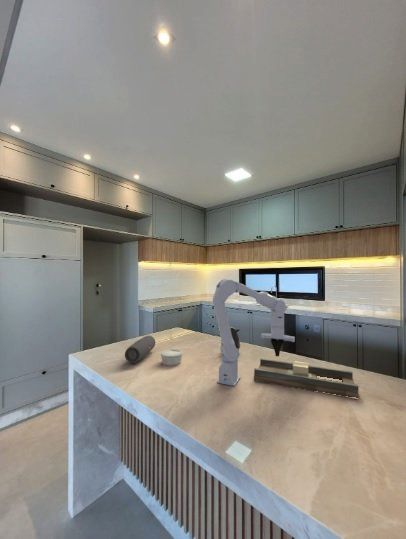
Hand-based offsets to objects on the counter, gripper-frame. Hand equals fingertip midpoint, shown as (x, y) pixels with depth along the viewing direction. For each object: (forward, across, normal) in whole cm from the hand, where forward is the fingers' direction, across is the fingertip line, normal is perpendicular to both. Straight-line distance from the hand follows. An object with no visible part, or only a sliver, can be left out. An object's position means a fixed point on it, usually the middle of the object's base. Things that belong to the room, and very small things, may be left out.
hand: (277, 355), depth 109 cm
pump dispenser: (+10, +29, -23) cm, 38 cm away
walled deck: (+9, -11, 0) cm, 14 cm away
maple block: (+7, -10, 0) cm, 12 cm away
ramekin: (+10, +53, +5) cm, 54 cm away
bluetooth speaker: (+10, +72, +6) cm, 73 cm away
